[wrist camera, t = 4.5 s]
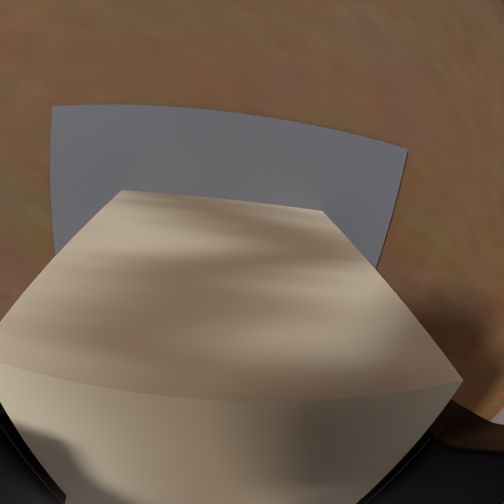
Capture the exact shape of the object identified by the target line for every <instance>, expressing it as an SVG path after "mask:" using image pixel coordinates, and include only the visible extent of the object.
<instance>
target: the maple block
mask: <svg viewBox="0 0 504 504" xmlns="http://www.w3.org/2000/svg"><path fill="white" fill-rule="evenodd" d="M463 381H464V380H463V379H462V378H461V376H460V375H459V374H458V372H457V371H456V369H455V368H454V367H453V365H452V364H451V363H450V361H449V360H448V359H447V357H446V356H445V355H444V353H443V352H442V351H441V349H440V348H439V347H438V345H437V344H436V343H435V341H434V340H433V339H432V338H431V336H430V335H429V334H428V332H427V331H426V330H425V329H424V327H423V326H422V325H421V324H420V322H419V321H418V320H417V319H416V317H415V316H414V315H413V314H412V312H411V311H410V310H409V309H408V307H407V306H406V305H405V304H404V303H403V301H402V300H401V299H400V298H399V297H398V295H397V294H396V293H395V292H394V291H393V289H392V288H391V287H390V286H389V285H388V283H387V282H386V281H385V280H384V279H383V278H382V276H381V275H380V274H379V273H378V272H377V271H376V269H375V268H374V267H373V266H372V265H371V264H370V263H369V261H368V260H367V259H366V258H365V257H364V256H363V255H362V254H361V252H360V251H359V250H358V249H357V248H356V247H355V246H354V245H353V244H352V242H351V241H350V240H349V239H348V238H347V237H346V236H345V235H344V234H343V233H342V231H341V230H340V229H339V228H338V227H337V226H336V225H335V224H334V223H333V222H332V221H331V220H330V219H329V218H328V216H327V215H326V214H325V213H324V212H323V211H319V210H312V209H304V208H297V207H289V206H281V205H273V204H265V203H256V202H248V201H239V200H229V199H220V198H210V197H200V196H189V195H178V194H167V193H154V192H141V191H128V190H122V191H120V192H119V193H118V194H117V195H116V196H115V197H114V198H113V199H112V200H111V201H110V202H109V203H108V204H106V205H105V206H104V207H103V208H102V209H101V210H100V211H99V212H98V213H97V214H96V215H95V216H94V217H93V218H92V219H91V220H90V221H89V222H88V223H87V224H86V225H85V226H84V227H83V228H82V229H81V230H80V231H79V232H78V233H77V234H76V235H75V236H74V237H73V238H72V239H71V240H70V241H69V242H68V243H67V244H66V245H65V246H64V247H63V249H62V250H61V251H60V252H59V253H58V254H57V255H56V256H55V257H54V258H53V259H52V260H51V262H50V263H49V264H48V265H47V266H46V267H45V268H44V269H43V271H42V272H41V273H40V274H39V275H38V276H37V277H36V279H35V280H34V281H33V282H32V283H31V284H30V286H29V287H28V288H27V289H26V290H25V292H24V293H23V294H22V295H21V296H20V298H19V299H18V300H17V301H16V303H15V304H14V305H13V306H12V308H11V309H10V310H9V311H8V313H7V314H6V315H5V317H4V318H3V319H2V320H1V322H0V402H1V404H2V406H3V407H4V409H5V411H6V413H7V414H8V416H9V418H10V419H11V421H12V422H13V424H14V426H15V427H16V429H17V430H18V432H19V434H20V435H21V437H22V438H23V440H24V441H25V443H26V444H27V445H28V447H29V448H30V450H31V451H32V453H33V454H34V455H35V457H36V458H37V459H38V461H39V462H40V463H41V465H42V466H43V467H44V469H45V470H46V471H47V473H48V474H49V475H50V476H51V478H52V479H53V480H54V481H55V483H56V484H57V485H58V486H59V487H60V489H61V490H62V491H63V492H64V493H65V494H66V495H67V497H68V498H69V499H70V500H71V501H72V502H73V503H74V504H356V503H357V502H358V501H359V500H360V499H362V498H363V497H364V496H365V495H366V494H367V493H368V492H369V491H370V490H371V489H372V488H374V487H375V486H376V485H377V484H378V483H379V482H380V481H381V480H382V479H383V478H384V477H385V476H386V475H387V474H388V473H389V472H390V471H391V470H392V469H393V468H394V467H395V466H396V465H397V463H398V462H399V461H400V460H401V459H402V458H403V457H404V456H405V455H406V454H407V453H408V452H409V450H410V449H411V448H412V447H413V446H414V445H415V444H416V442H417V441H418V440H419V439H420V438H421V437H422V435H423V434H424V433H425V432H426V431H427V429H428V428H429V427H430V426H431V424H432V423H433V422H434V421H435V419H436V418H437V417H438V415H439V414H440V413H441V412H442V410H443V409H444V408H445V406H446V405H447V403H448V402H449V401H450V399H451V398H452V397H453V395H454V394H455V392H456V391H457V389H458V388H459V387H460V385H461V384H462V382H463Z"/></svg>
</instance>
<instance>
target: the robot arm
mask: <svg viewBox="0 0 504 504" xmlns="http://www.w3.org/2000/svg"><path fill="white" fill-rule="evenodd" d="M65 500H66V494H65V493H64V492H63V491H62V490H61V489H60V487H59V486H58V485H57V484H56V483H55V481H54V480H53V479H52V478H51V476H50V475H49V474H48V473H47V471H46V470H45V469H44V467H43V466H42V465H41V463H40V462H39V461H38V459H37V458H36V457H35V455H34V454H33V453H32V451H31V450H30V448H29V447H28V445H27V444H26V443H25V441H24V440H23V438H22V437H21V435H20V434H19V432H18V430H17V429H16V427H15V426H14V424H13V422H12V421H11V419H10V418H9V416H8V414H7V413H6V411H5V409H4V407H3V406H2V404H1V402H0V504H65ZM356 504H504V425H501V424H496V423H492V422H490V421H488V420H486V419H484V418H482V417H480V416H479V415H477V414H475V413H474V412H472V411H470V410H468V409H467V408H465V407H463V406H462V405H460V404H458V403H456V402H455V401H453V400H452V399H450V401H449V402H448V403H447V405H446V406H445V408H444V409H443V410H442V412H441V413H440V414H439V415H438V417H437V418H436V419H435V421H434V422H433V423H432V424H431V426H430V427H429V428H428V429H427V431H426V432H425V433H424V434H423V435H422V437H421V438H420V439H419V440H418V441H417V442H416V444H415V445H414V446H413V447H412V448H411V449H410V450H409V452H408V453H407V454H406V455H405V456H404V457H403V458H402V459H401V460H400V461H399V462H398V463H397V465H396V466H395V467H394V468H393V469H392V470H391V471H390V472H389V473H388V474H387V475H386V476H385V477H384V478H383V479H382V480H381V481H380V482H379V483H378V484H377V485H376V486H375V487H374V488H372V489H371V490H370V491H369V492H368V493H367V494H366V495H365V496H364V497H363V498H362V499H360V500H359V501H358V502H357V503H356Z"/></svg>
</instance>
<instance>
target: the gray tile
mask: <svg viewBox="0 0 504 504" xmlns="http://www.w3.org/2000/svg"><path fill="white" fill-rule="evenodd" d="M407 151H408V149H407V148H404V147H400V146H397V145H393V144H390V143H386V142H383V141H379V140H375V139H371V138H367V137H364V136H360V135H355V134H351V133H347V132H343V131H338V130H334V129H329V128H325V127H320V126H315V125H310V124H305V123H300V122H294V121H289V120H283V119H277V118H271V117H265V116H258V115H251V114H244V113H236V112H228V111H219V110H209V109H199V108H187V107H173V106H155V105H120V104H100V105H66V106H52V119H51V139H50V191H51V212H52V226H53V237H54V247H55V255H57V254H58V253H59V252H60V251H61V250H62V249H63V247H64V246H65V245H66V244H67V243H68V242H69V241H70V240H71V239H72V238H73V237H74V236H75V235H76V234H77V233H78V232H79V231H80V230H81V229H82V228H83V227H84V226H85V225H86V224H87V223H88V222H89V221H90V220H91V219H92V218H93V217H94V216H95V215H96V214H97V213H98V212H99V211H100V210H101V209H102V208H103V207H104V206H105V205H106V204H108V203H109V202H110V201H111V200H112V199H113V198H114V197H115V196H116V195H117V194H118V193H119V192H120V191H122V190H128V191H141V192H154V193H167V194H178V195H189V196H200V197H210V198H220V199H229V200H239V201H248V202H256V203H265V204H273V205H281V206H289V207H297V208H304V209H312V210H319V211H323V212H324V213H325V214H326V215H327V216H328V218H329V219H330V220H331V221H332V222H333V223H334V224H335V225H336V226H337V227H338V228H339V229H340V230H341V231H342V233H343V234H344V235H345V236H346V237H347V238H348V239H349V240H350V241H351V242H352V244H353V245H354V246H355V247H356V248H357V249H358V250H359V251H360V252H361V254H362V255H363V256H364V257H365V258H366V259H367V260H368V261H369V263H370V264H371V265H372V266H373V267H374V268H375V269H376V266H377V263H378V260H379V257H380V254H381V251H382V247H383V244H384V241H385V238H386V234H387V231H388V227H389V224H390V220H391V217H392V213H393V209H394V206H395V202H396V198H397V194H398V190H399V186H400V182H401V178H402V174H403V169H404V165H405V161H406V156H407Z"/></svg>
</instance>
